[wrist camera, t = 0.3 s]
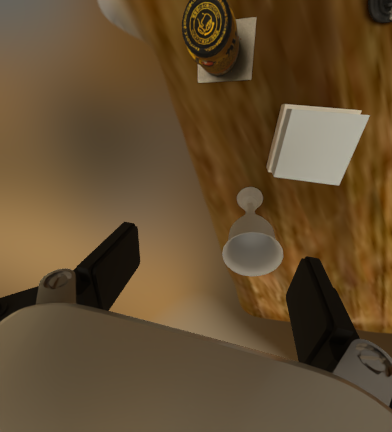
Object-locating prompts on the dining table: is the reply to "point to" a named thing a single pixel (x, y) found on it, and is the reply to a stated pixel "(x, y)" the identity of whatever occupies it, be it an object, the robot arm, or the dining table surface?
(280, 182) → the dining table surface
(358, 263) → the dining table surface
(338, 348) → the robot arm
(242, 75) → the condiment
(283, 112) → the tower base
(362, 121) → the tower top
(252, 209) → the chalice
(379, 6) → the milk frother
